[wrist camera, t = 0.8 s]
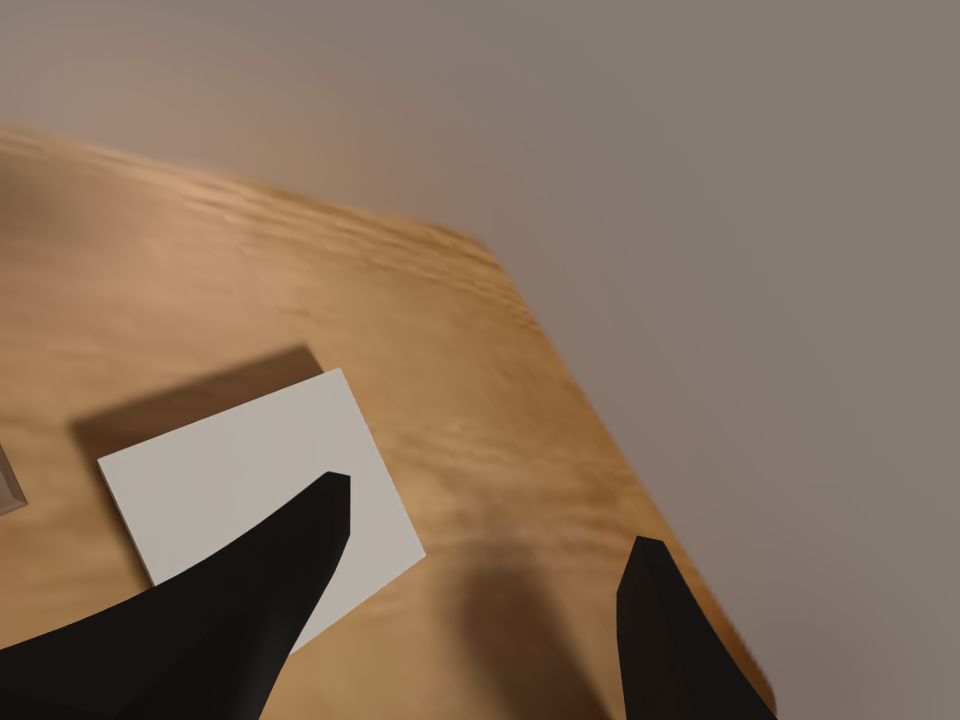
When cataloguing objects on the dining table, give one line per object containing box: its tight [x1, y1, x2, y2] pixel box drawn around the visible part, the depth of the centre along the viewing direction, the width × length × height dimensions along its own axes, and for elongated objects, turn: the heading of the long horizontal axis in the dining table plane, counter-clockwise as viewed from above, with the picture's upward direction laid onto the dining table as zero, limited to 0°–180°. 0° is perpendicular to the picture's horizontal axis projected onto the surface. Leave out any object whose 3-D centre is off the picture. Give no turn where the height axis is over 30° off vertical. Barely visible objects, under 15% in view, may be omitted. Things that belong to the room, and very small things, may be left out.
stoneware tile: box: [97, 367, 426, 656], centre depth 25 cm, size 11×11×2 cm
